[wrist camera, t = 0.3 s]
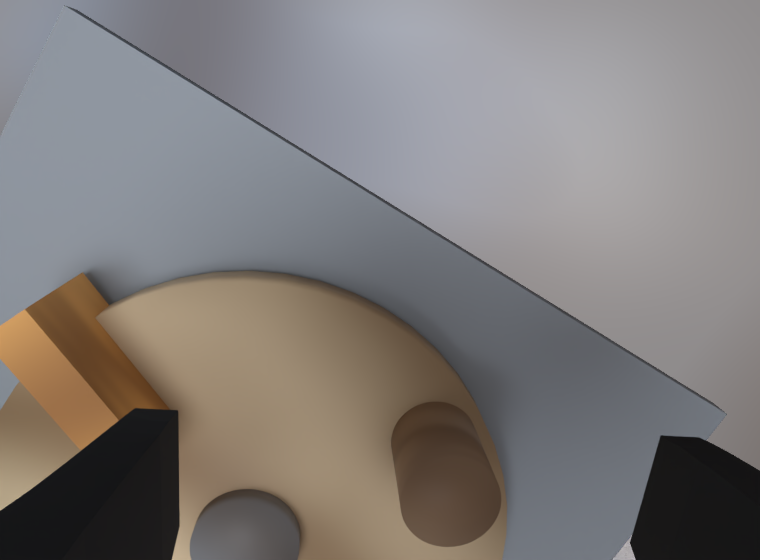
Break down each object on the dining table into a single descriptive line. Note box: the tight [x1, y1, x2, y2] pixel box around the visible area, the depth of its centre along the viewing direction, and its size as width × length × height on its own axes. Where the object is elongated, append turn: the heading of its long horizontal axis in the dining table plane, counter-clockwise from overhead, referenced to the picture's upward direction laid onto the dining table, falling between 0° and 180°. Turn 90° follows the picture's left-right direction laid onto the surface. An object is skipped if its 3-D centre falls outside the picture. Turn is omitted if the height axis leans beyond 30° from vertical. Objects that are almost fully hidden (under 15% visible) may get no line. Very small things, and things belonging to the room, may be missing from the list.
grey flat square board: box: [0, 6, 727, 560], centre depth 21 cm, size 20×22×1 cm
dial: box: [0, 271, 507, 560], centre depth 18 cm, size 15×16×4 cm
